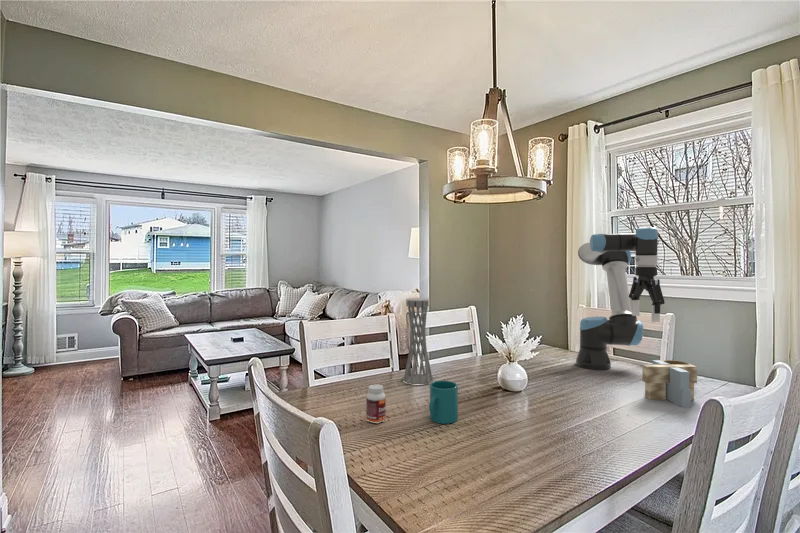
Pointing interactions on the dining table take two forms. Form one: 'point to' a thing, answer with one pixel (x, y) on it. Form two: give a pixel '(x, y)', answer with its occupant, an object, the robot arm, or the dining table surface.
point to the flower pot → (676, 362)
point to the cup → (443, 402)
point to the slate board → (677, 385)
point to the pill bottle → (376, 404)
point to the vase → (418, 343)
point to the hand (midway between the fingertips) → (645, 318)
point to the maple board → (664, 379)
